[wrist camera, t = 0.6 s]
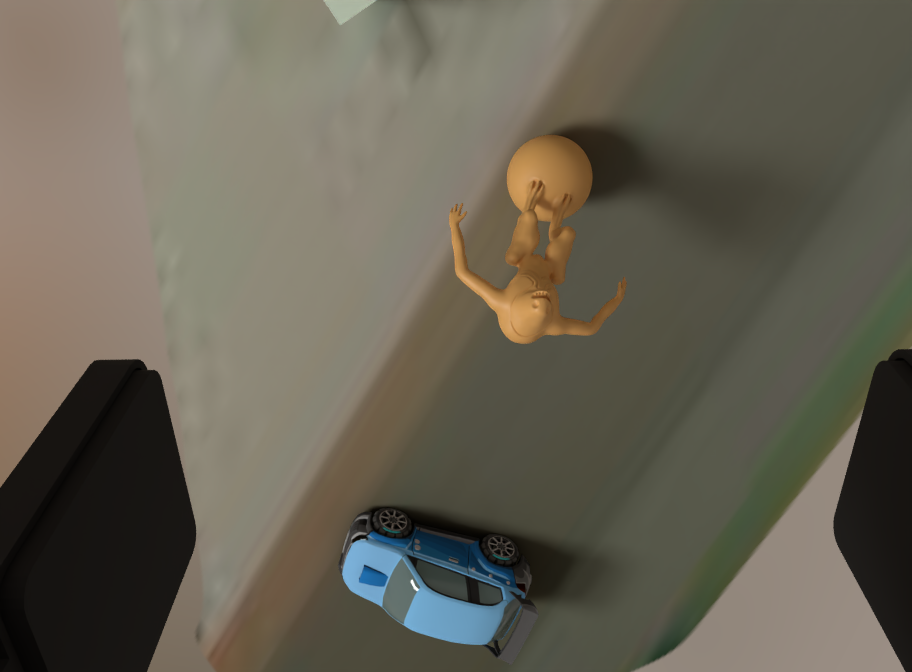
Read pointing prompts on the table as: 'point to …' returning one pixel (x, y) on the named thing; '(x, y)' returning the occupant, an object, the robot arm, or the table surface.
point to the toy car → (440, 580)
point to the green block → (346, 8)
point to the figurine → (546, 199)
